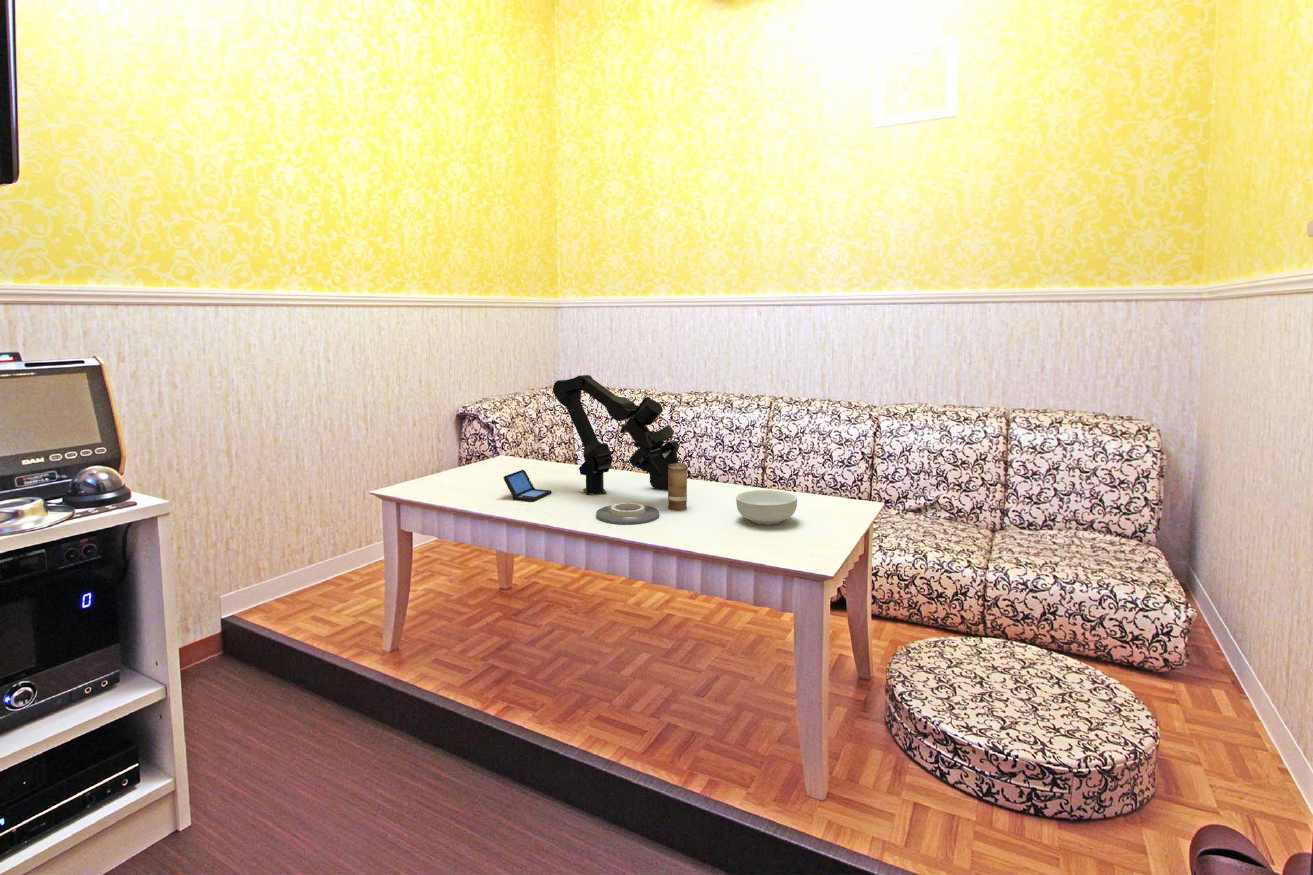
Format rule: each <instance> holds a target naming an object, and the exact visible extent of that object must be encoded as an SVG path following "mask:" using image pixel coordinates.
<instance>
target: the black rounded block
mask: <svg viewBox="0 0 1313 875" xmlns="http://www.w3.org/2000/svg"><path fill="white" fill-rule="evenodd" d="M664 445H665V444H663V445H661V448H662V447H663V446H664ZM654 462H655V463H656V465H657V467H658V468H659V470H660V471H661V473H662V475H663V478H662V479H660V478H658V477H656V476H654V475H652V474H650V473H649V484H650V486H651V487H652V488H653V489H655V490H662V489H663V490H665V491H668V465H667V464H666V463H665V462H663V459H662V458H661V457H660V456H659V455H657V456H654ZM663 490H662V491H663Z"/></svg>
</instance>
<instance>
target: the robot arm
mask: <svg viewBox="0 0 1313 875" xmlns="http://www.w3.org/2000/svg"><path fill="white" fill-rule="evenodd" d="M581 391H583V392H585V393H586V394H588V395H589V396H591V397H592V398H593V399H594V400H596V401H597V402H598V403H600V404H601V405H603V407H605V408H606V411H607V414H609V416H610V417H612V419H613V420H614V421H616V422H622V421H626V422H625V423H624V424H623V423H622V424H621V426H620V427H621V428H620V434H626V433H628V434H629V436H630V437H631V439H632V440H633V441H634V444H633V446H634V447H635V448H637V449H636V450H635V451H634V453H632V455H631V456H630V457H629V463H630V464H631V466H632V468H635V467H636V469H639V470H642V471H645V472H646V473H647V474H648V473H649V475H650V474H652V475H654V476H656V477H658V478H660V479H662V478H663V475H662V473H661V471H660V470H659V468H658V467H657V465H656V463H655V462H654V456H657V455H659V456H660V457H661V458H662V459H663V462H665V463H666V464H667V465H669V464H680V462H679V460H678V459H679V458H678V452H679V450H680V449H679V448H680V447H681V445H680V444H679V443H678V441H677V440H672V439H673V438H674V434H675V431H674V429H673V428H672V427H671V426H670V425H666V426H664V427H662V428H661V429H659V430H656V431H655V430H650V429H649V427H648V426H651V425H653V423H654V422H655V421H656V420H657V418H659V417H660V416H661V414H662V413H663V410H664V409H663V406H662V404H660V403H659V402H657V401H656V400H654V399H651V397H650V396H645V397H644V398H643V399H642V401H641V402H640V403H639V405H637V404H636V403H635V402H634V401H632V400H630V399H627V398H626V397H621V396H619V395H616V394H614V393H613V392H611V391H610V390H609V389H608V388H606V387H605V386H603V385H602V384H601V383H599V382H598V381H596V380H595V379H594V378H593V377H592V375H589V374H583V375H582V374H580V375H577V376H575V377H573V378H569V379H560V380H559V379H558V380H555V382H554V383H553V387H552V392H553V395H554V396H555V398H556V399H557V401H558V402H559V403H560V404H561V405H562V406H564V408H565V409H566V410H567V412H568V414H569V416H570V419H571V420H572V421H571V422H572V423H573V426H574V427H575V430H576V432H577V435H578V436H579V439H580V440H581V443H582V444H583V447H584V448H583V458H584V462H583V463H582V464H581V465H580V466H579V467H578V469H579V473H580V475H582V476H585V487H584V488H583V492H584V493H585V494H586V495H599V494H600V495H601V494H607V490H605V488H604V484H605V483H604V481H605V480H604V474H605V473H608V472H610V467H611V465H612V463H613V456H612V454H613V452H611V450H610V448H609V445H608V443H606V442H605V443H603V442H600V441H599V439H598V437H597V435H596V432H595V430H594V427H593V426H592V424H591V422H590V420H589V417H588V415H587V413H586V410H585V408H584V406H583V404H582V402H581V400H582V399H581V397H582V392H581ZM669 439H671V441H666V440H669ZM665 441H666V442H665ZM661 445H664V446H663V447H662V448H661Z"/></svg>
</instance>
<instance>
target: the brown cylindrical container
mask: <svg viewBox="0 0 1313 875" xmlns="http://www.w3.org/2000/svg"><path fill="white" fill-rule="evenodd" d="M667 491H668V492H667V501H668V502H667V509H668V510H670V511H674V512H675V511H676V512H678V511H679V512H681V511H682V512H683V511H687V507H688V464H685V463H679V464H669V465H668V490H667Z"/></svg>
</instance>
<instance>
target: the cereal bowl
mask: <svg viewBox="0 0 1313 875" xmlns="http://www.w3.org/2000/svg"><path fill="white" fill-rule="evenodd" d="M735 498H736V500H735V502H736V503H735V504H736V509H737V511H738V512H739V514H740V515H741V516H742V517H743V518H746V519H748V520H750V521H752V522H753V523H754V522H755V523H754V524H758V525H762V524H765V525H764V526H772V524H774V525H778V524H780V523H781V522H782V521H786V520H787V519H789V518H791V517H792V516H793V515H794V514H795V512H796V510H797V506H798V497H797V496H796V495H795V494H793V493H791V492H788V491H787V492H786V491H781V490H772V489H756V490H747V491H743V492H740V493H737V495H736V497H735Z"/></svg>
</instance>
